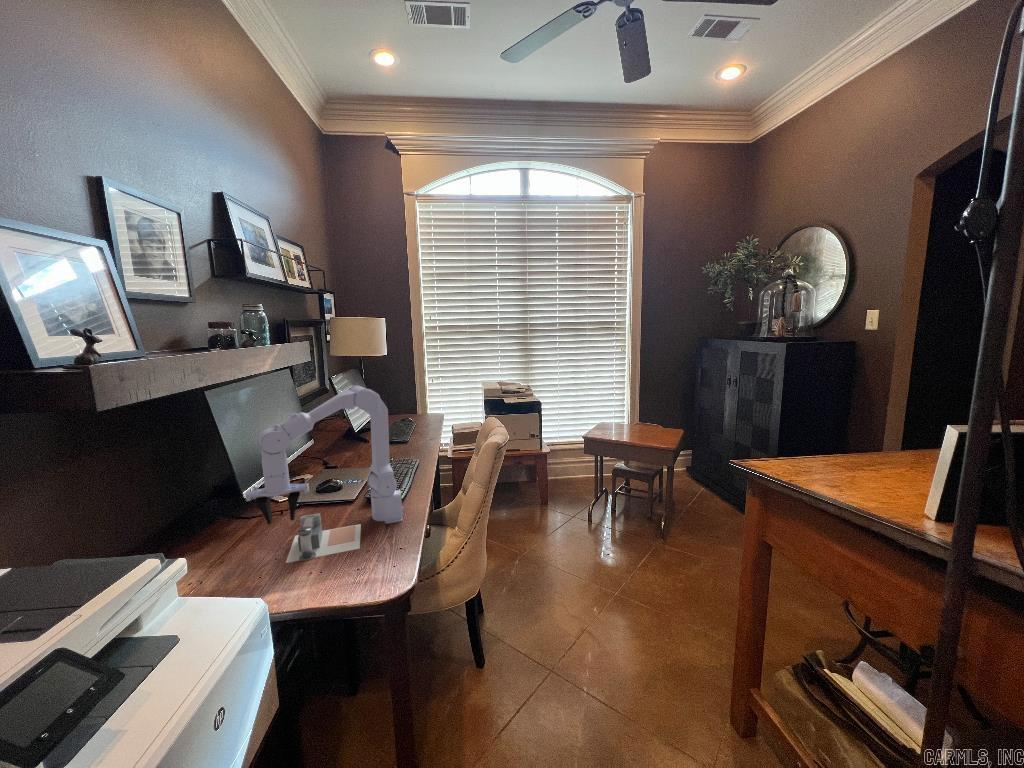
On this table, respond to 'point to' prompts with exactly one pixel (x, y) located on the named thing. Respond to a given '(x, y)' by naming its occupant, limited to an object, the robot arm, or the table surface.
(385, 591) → the table surface
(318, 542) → the grey rectangular block
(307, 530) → the latch
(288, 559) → the board
